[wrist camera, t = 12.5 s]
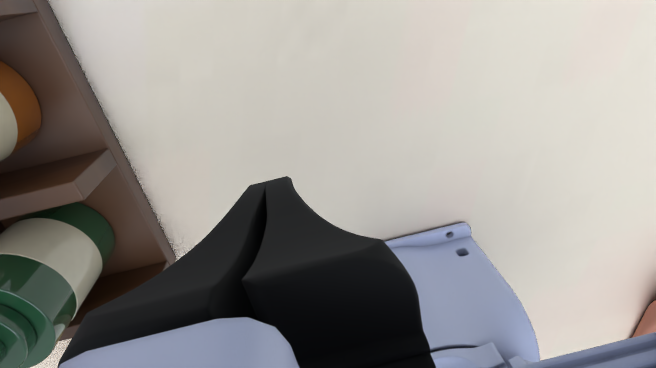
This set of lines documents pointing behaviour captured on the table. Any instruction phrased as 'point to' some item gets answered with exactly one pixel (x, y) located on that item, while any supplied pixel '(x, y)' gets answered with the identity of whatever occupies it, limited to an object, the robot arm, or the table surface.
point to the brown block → (647, 321)
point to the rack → (74, 156)
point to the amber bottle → (16, 112)
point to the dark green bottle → (47, 277)
